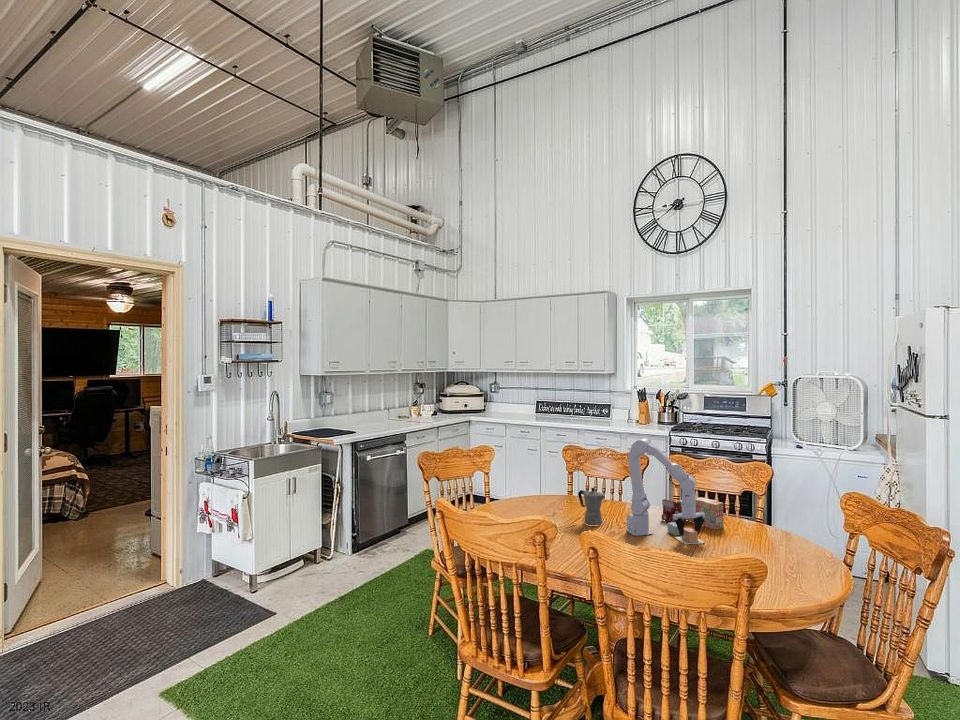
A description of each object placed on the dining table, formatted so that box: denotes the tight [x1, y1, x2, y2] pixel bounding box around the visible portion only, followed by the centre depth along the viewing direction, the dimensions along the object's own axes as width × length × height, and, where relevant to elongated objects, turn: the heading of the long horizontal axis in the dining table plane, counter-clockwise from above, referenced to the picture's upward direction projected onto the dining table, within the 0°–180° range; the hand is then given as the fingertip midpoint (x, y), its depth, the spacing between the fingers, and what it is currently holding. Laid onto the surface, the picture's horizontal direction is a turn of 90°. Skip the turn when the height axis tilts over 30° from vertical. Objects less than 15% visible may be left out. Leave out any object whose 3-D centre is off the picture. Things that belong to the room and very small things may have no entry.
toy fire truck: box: [661, 498, 687, 523], centre depth 252 cm, size 7×12×10 cm, turn 34°
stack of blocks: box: [677, 496, 725, 531], centre depth 250 cm, size 21×6×12 cm, turn 30°
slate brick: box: [667, 521, 680, 536], centre depth 235 cm, size 4×6×4 cm, turn 11°
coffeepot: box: [577, 487, 606, 525], centre depth 251 cm, size 15×9×18 cm, turn 44°
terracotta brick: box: [681, 527, 699, 542], centre depth 224 cm, size 4×6×4 cm, turn 10°
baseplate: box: [674, 536, 706, 546], centre depth 224 cm, size 9×9×1 cm
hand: (689, 534), depth 224 cm, fingers open, 7 cm apart
